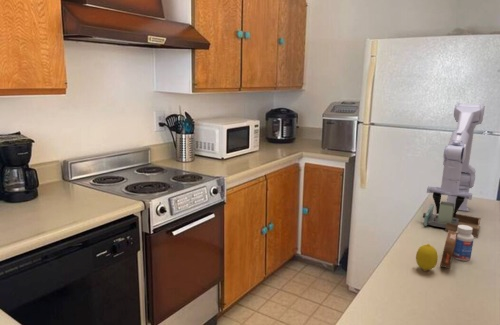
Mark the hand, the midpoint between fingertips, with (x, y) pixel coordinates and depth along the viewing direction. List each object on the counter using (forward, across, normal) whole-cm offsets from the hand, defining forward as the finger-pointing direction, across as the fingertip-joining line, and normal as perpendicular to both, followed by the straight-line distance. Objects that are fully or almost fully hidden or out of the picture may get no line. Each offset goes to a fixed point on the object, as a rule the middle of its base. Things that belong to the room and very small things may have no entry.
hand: (446, 214), depth 143 cm
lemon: (+5, 0, -40) cm, 41 cm away
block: (+3, 0, 0) cm, 3 cm away
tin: (+5, +4, -31) cm, 31 cm away
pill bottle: (+5, +7, -25) cm, 27 cm away
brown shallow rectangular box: (+4, +6, +1) cm, 7 cm away
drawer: (+4, -2, +1) cm, 4 cm away
